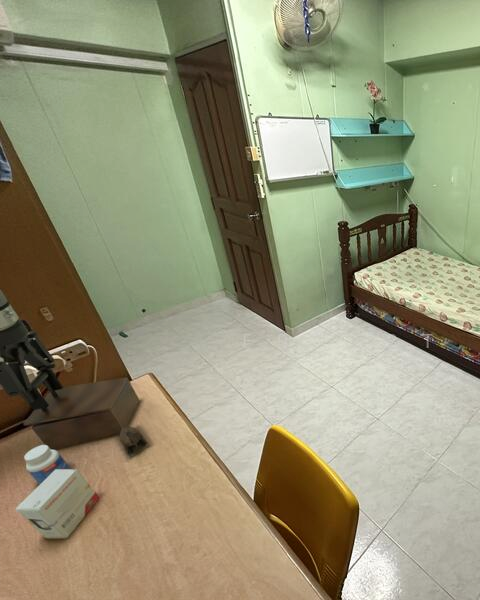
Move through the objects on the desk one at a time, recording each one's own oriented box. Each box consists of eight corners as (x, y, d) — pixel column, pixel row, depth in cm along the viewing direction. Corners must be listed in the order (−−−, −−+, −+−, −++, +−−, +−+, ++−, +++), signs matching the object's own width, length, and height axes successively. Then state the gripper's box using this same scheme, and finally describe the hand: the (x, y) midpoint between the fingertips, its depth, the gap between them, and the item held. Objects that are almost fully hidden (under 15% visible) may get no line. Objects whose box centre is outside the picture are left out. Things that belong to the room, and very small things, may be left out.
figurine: (156, 456, 83) (144, 434, 79) (136, 468, 80) (122, 447, 76) (138, 428, 90) (126, 407, 86) (119, 439, 87) (105, 418, 83)
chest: (51, 452, 84) (30, 427, 79) (75, 416, 94) (58, 392, 89) (125, 434, 89) (110, 410, 84) (140, 402, 99) (128, 379, 94)
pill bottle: (57, 488, 75) (34, 463, 71) (34, 488, 75) (11, 463, 71) (77, 467, 80) (58, 442, 75) (57, 466, 80) (36, 442, 75)
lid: (24, 425, 78) (4, 398, 74) (53, 390, 88) (37, 365, 84) (110, 410, 84) (97, 384, 80) (128, 379, 94) (117, 354, 90)
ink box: (81, 497, 74) (55, 467, 68) (102, 498, 74) (78, 467, 68) (44, 540, 66) (11, 510, 60) (68, 540, 66) (37, 510, 60)
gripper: (-13, 347, 65) (45, 422, 76) (42, 304, 81) (84, 372, 92) (-63, 354, 63) (5, 430, 74) (4, 308, 79) (51, 377, 90)
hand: (49, 398), depth 83 cm, fingers closed on lid, 6 cm apart
